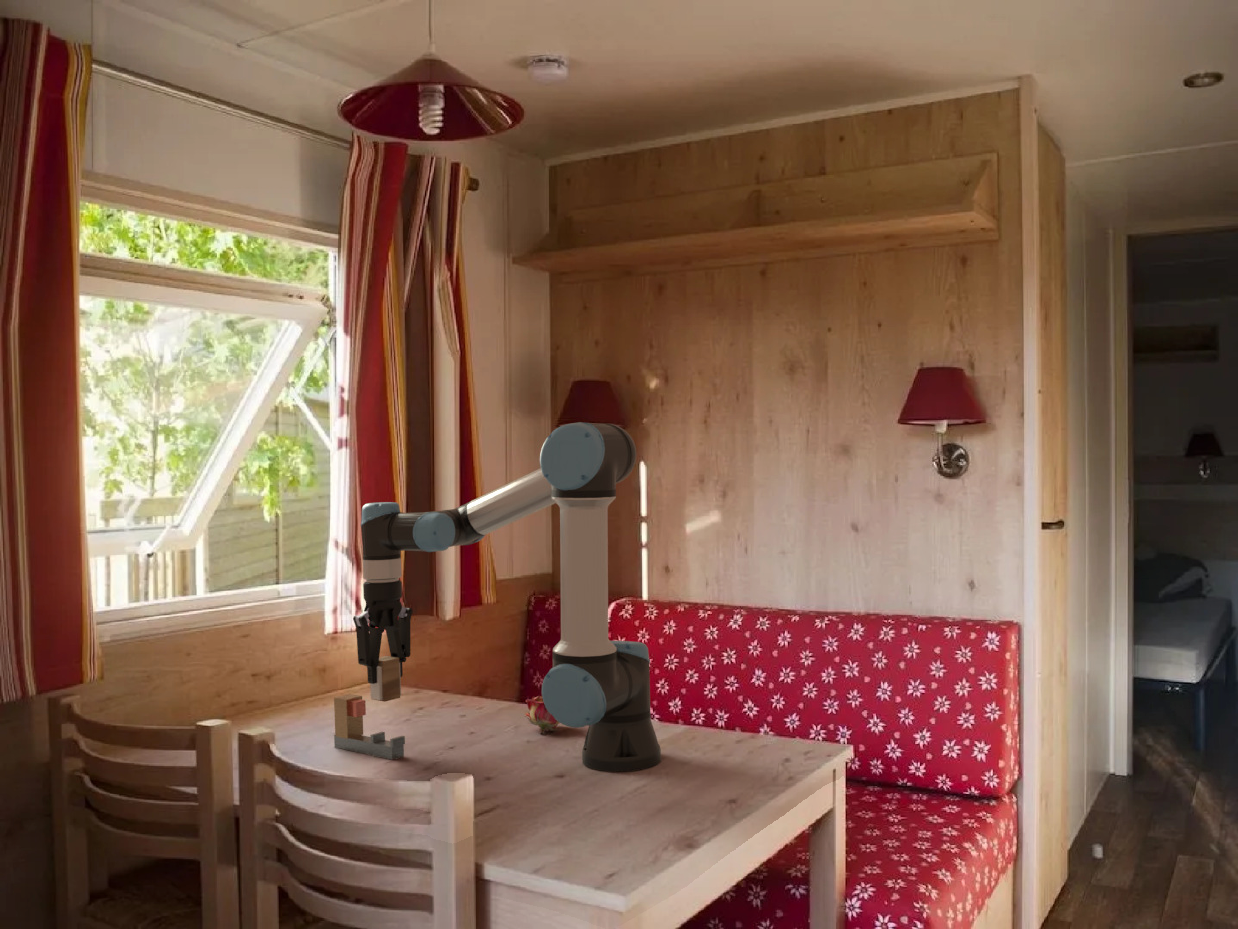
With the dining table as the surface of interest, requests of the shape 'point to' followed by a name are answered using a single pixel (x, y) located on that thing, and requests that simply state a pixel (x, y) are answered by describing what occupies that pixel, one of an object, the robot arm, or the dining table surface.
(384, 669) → the walnut finger
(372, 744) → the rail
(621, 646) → the robot arm
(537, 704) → the flower
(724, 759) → the dining table surface
